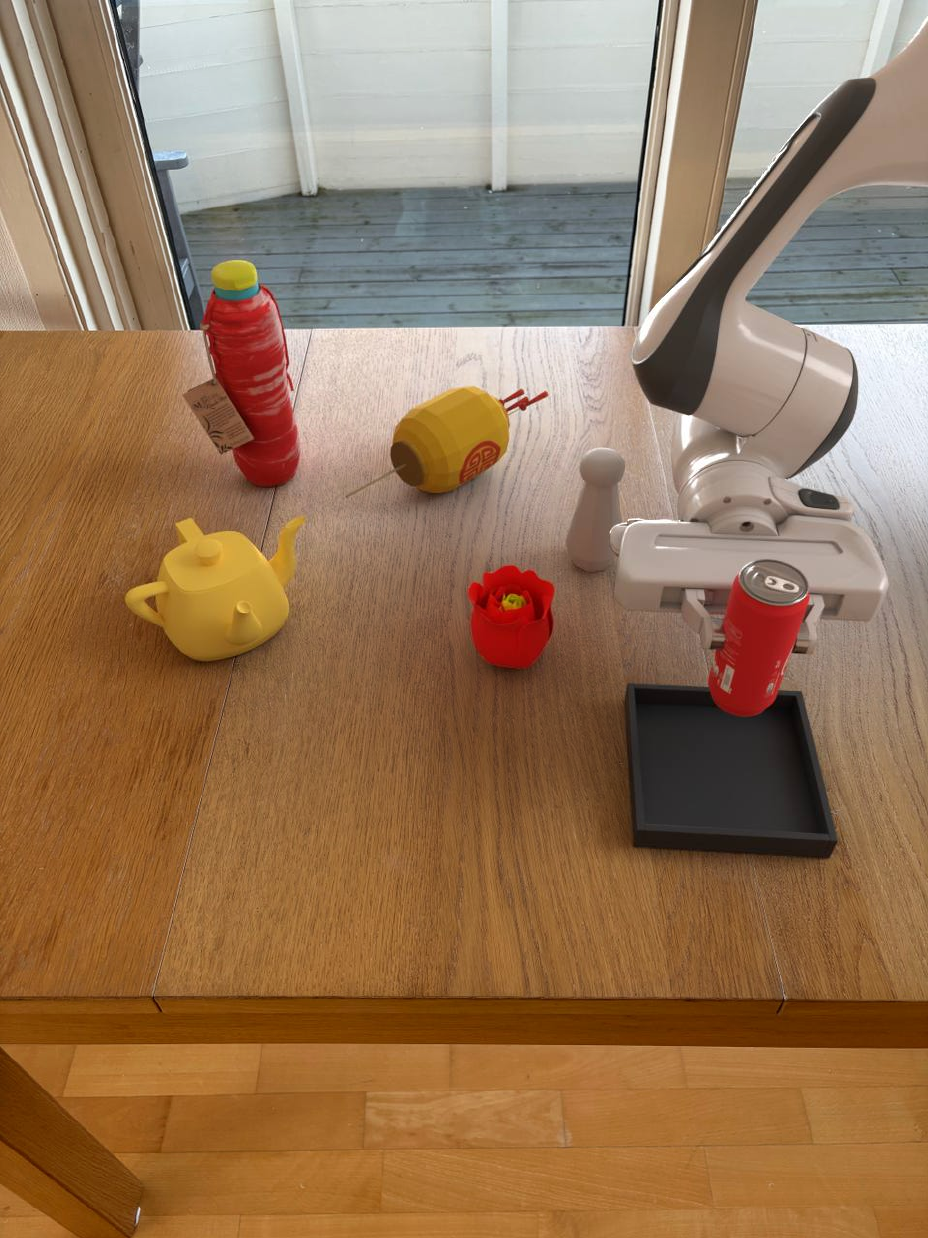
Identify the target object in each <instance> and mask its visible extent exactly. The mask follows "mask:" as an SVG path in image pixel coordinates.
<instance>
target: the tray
mask: <svg viewBox="0 0 928 1238" xmlns="http://www.w3.org/2000/svg"><path fill="white" fill-rule="evenodd" d="M623 704H624V706H623V707H624V722H625V736H626V750H627V752H626V754H627V767H628V780H629V781H628V782H629V783H628V784H629V797H630V815H631V830H632V845H633V846H632V847H633V848H643V849H659V850H674V851H675V850H677V851H695V852H712V853H713V852H714V853H728V854H729V853H730V854H745V855H762V856H763V855H764V856H780V857H781V856H783V857H799V858H800V857H801V858H817V859H818V858H819V859H830V858H831V857H832V854H833V852H834V850H835V848H836V846H837V844H838V842H839V839H838V835H837V831H836V827H835V823H834V819H833V813H832V810H831V806H830V801H829V798H828V793H827V789H826V785H825V781H824V778H823V773H822V769H821V765H820V761H819V756H818V752H817V749H816V744H815V740H814V735H813V732H812V727H811V723H810V719H809V714H808V710H807V707H806V702H805V699H804V694H803V691H802V690H787V689H786V690H784V689H779V690H778V693H777V696H776V699H775V700H774V702H773V703H772V704H771V705H770V706H769V707H767V708H766V709H765V710H764V711H763V712H762V713H760V714H758V715H756V716H752V717H738V716H734V715H731V714H728V713H726V712H725V711H723V710H722V709H720V708H719V707H718V706H717V705H716V704H715V702H714V701H713V699H712V696H711V691H710V689H709V686H702V685H701V686H697V685H682V684H681V685H680V684H679V685H676V684H658V683H636V682H635V683H634V682H627V683H626V688H625V694H624V699H623Z"/></svg>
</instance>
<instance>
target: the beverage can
mask: <svg viewBox="0 0 928 1238" xmlns="http://www.w3.org/2000/svg"><path fill="white" fill-rule="evenodd" d="M809 599H810V594H809V583H808V580H807V578H806V577H805V575H804V574H803V573H802V572H801V571H800V570H799V569H797V568H796V567H794V566H792V565H790V564H788V563H786V562H783V561H779V560H774V559H759V560H755V561H752V562H749V563H748V564H746V565H745V566H744V567H743V568H742V569H741V571H740V573H739V574H738V575H737V576H736V577H735V579H734V582H733V585H732V589H731V593H730V597H729V601H728V604H727V608H726V612H725V615H723V616H724V617H723V619H724V620H723V628H724V631H725V635H726V640H725V642H724V643H723V645H724V647H723V650H715V651H714V654H713V658H712V662H711V665H710V666H711V667H710V670H709V674H708V678H707V685H708V687H709V689H710V691H711V696H712V699H713V701H714V702H715V704H716V705H717V706H718V707H719V708H720V709H722V710H723V711H725V712H726V713H728V714H731V715H734V716H738V717H752V716H756V715H758V714H760V713H762V712H763V711H764V710H765V709H766V708H767V707H769V706H770V705H771V704H772V703H773V702H774V700H775V699H776V696H777V693H778V690H780V688H781V684H782V682H783V678H784V676H785V672H786V670H787V667H788V665H789V660H790V658H791V655H792V653H791V652H792V650H793V647H794V644H795V641H796V638H797V635H798V632H799V629H800V626H801V623H802V620H803V618H804V615H805V612H806V609H807V606H808V603H809Z"/></svg>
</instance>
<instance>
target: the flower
mask: <svg viewBox="0 0 928 1238" xmlns="http://www.w3.org/2000/svg"><path fill="white" fill-rule="evenodd" d="M555 590H556V588H555V585H554V584H553V583H552V582H551V581H548V580H545V579H542V578H540V577H539V576H538V575H537V573H536V572H535V570H533V569H526V570H523V572H522V571H521V569H520V568H519V567H518V566H517V565H514V564H507V565H503V566H501V567H498V568H497V569H496V570H495V571H492V572H488V571H484V572H483V573H482V584H481V582H480V583H479V582H477V581H473V582H471V584H470V585H469V587H468V590H467V595H468V599H469V600H470V602H471V604H472V606H473V608H472V611H471V615H470V634H471V639H472V642H473V644H474V648H475V650H476V651H477V653H478V654H479V655H480V656H481V657H482V659H483V660H484V661H485V662H486V663H487V664H489V665H491V666H492V665H493V666H497V667H501V668H510V669H517V670H520V669H521V670H522V669H528V668H529V667H531V666H533V664H534V663H535V662H536V661H537V660H538V659H539V658H540V656H541V655H542V653H543V652H544V650H545V649H546V647H547V645H548V642H549V641H550V639H551V638H552V634H553V631H554V627H555V626H554V625H555V621H554V614H553V611H552V603H553V602H552V601H553V600H554V596H555V592H556V591H555Z"/></svg>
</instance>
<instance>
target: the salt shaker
mask: <svg viewBox="0 0 928 1238" xmlns="http://www.w3.org/2000/svg"><path fill="white" fill-rule="evenodd" d="M625 470H626V461H625V459H624V458H623V456H622V455H621V453H619V451H616V449H612V448H609V447H594V448H592V449H590V450H588V451H587V452H585V453H584V454H582V458H581V460H580V463H579V474H580V476H581V479H582V480H583V482H582V486H581V490H580V493H579V497H578V499H577V503H576V505H575V509H574V511H573V516H572V519H571V523H570V526H569V529H568V532H567V535H566V538H565V545H566V546H565V547H566V548H567V552H568V555H569V556H570V558H571V560H572V563H573V565H574V566H576V567H578V568H580V569H581V570H584V571H585V572H587V573H593V572H602V571H606V570H607V569H608V567H609V565H611V563H613V561H615V559H616V558H618V557H617V556H616V555H614V553H613V552H612V551H611V548H610V542H609V533H610V531H611V529H612V527H614V526H616V525H618V524H622V517H621V508H620V493H619V483H620V482H621V481H622V480H623V477H624V474H625Z"/></svg>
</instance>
